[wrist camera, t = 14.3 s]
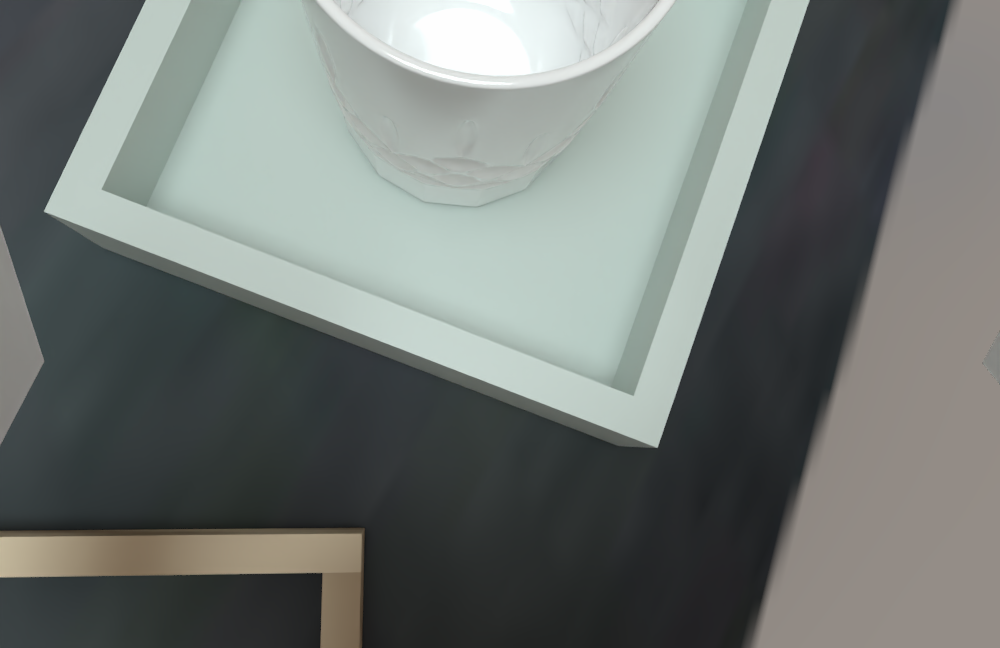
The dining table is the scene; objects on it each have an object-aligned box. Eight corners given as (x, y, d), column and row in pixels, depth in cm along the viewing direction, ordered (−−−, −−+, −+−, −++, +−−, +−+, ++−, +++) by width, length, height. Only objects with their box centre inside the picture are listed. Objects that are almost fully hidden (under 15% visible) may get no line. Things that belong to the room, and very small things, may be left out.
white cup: (371, -64, 25) (350, -381, 16) (620, 21, 26) (752, -234, 16) (285, 179, 24) (202, 0, 14) (549, 263, 25) (642, 147, 15)
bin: (103, 247, 24) (43, 211, 20) (317, -212, 27) (302, -323, 23) (618, 446, 25) (657, 448, 21) (779, -18, 28) (840, -93, 24)
